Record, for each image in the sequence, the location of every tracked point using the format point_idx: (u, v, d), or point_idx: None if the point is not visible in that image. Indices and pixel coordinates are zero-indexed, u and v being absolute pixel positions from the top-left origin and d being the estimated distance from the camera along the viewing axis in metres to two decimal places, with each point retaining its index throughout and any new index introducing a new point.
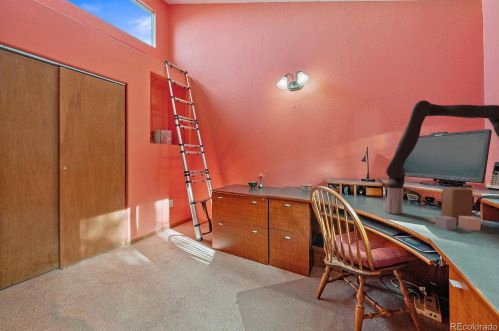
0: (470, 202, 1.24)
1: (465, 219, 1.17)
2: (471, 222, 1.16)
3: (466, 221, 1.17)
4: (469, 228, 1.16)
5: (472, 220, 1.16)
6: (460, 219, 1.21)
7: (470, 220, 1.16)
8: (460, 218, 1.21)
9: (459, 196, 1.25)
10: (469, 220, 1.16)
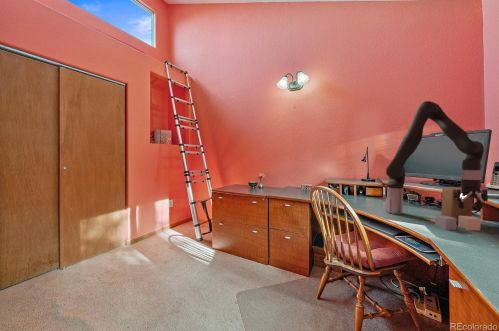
0: (470, 202, 1.24)
1: (465, 219, 1.17)
2: (471, 222, 1.16)
3: (466, 221, 1.17)
4: (469, 228, 1.16)
5: (472, 220, 1.16)
6: (460, 219, 1.21)
7: (470, 220, 1.16)
8: (460, 218, 1.21)
9: None
10: (469, 220, 1.16)
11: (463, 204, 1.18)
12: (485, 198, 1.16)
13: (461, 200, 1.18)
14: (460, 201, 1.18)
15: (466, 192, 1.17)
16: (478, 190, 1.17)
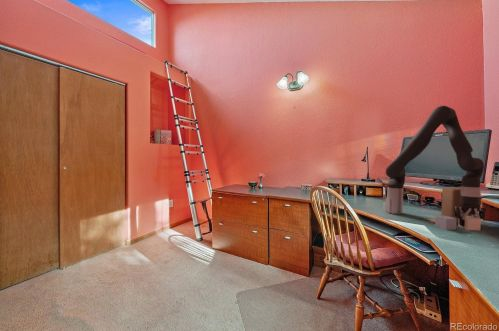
0: None
1: (465, 219, 1.17)
2: (471, 222, 1.16)
3: (466, 221, 1.17)
4: (469, 228, 1.16)
5: (472, 220, 1.16)
6: None
7: (470, 220, 1.16)
8: None
9: (459, 196, 1.25)
10: (469, 220, 1.16)
11: (464, 222, 1.18)
12: (482, 216, 1.17)
13: (462, 218, 1.18)
14: (461, 219, 1.19)
15: (465, 209, 1.18)
16: (477, 207, 1.17)
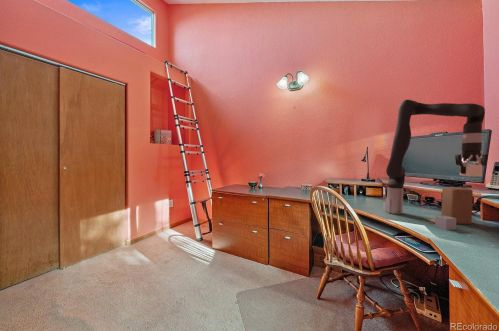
0: (470, 202, 1.24)
1: (466, 166, 1.17)
2: (473, 168, 1.15)
3: (467, 168, 1.16)
4: (470, 174, 1.15)
5: (474, 166, 1.15)
6: None
7: (472, 166, 1.15)
8: None
9: (459, 196, 1.25)
10: (471, 166, 1.15)
11: (465, 169, 1.17)
12: (483, 163, 1.16)
13: (463, 165, 1.17)
14: (462, 166, 1.18)
15: (466, 156, 1.17)
16: (479, 153, 1.16)
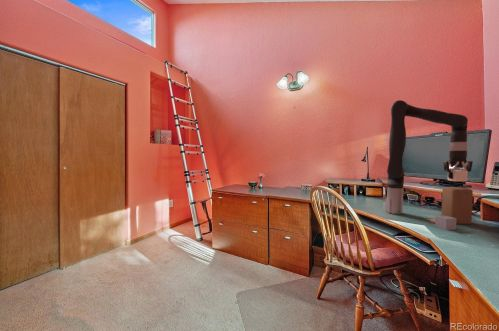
0: (470, 202, 1.24)
1: (453, 172, 1.28)
2: (459, 174, 1.26)
3: (454, 173, 1.27)
4: (457, 179, 1.27)
5: (460, 172, 1.26)
6: None
7: (458, 172, 1.26)
8: None
9: (459, 196, 1.25)
10: (457, 172, 1.27)
11: (452, 174, 1.29)
12: (469, 169, 1.27)
13: (451, 171, 1.29)
14: (450, 172, 1.29)
15: (453, 163, 1.28)
16: (464, 160, 1.27)
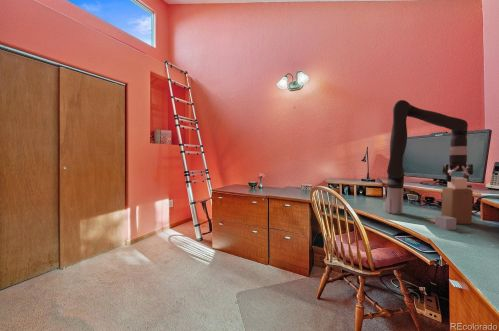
0: (470, 202, 1.24)
1: (453, 179, 1.28)
2: (459, 181, 1.27)
3: (454, 181, 1.28)
4: (457, 187, 1.27)
5: (459, 179, 1.27)
6: None
7: (458, 180, 1.27)
8: None
9: (459, 196, 1.25)
10: (457, 180, 1.27)
11: (450, 177, 1.29)
12: (471, 172, 1.27)
13: (449, 174, 1.29)
14: (448, 175, 1.29)
15: (453, 166, 1.28)
16: (464, 165, 1.28)
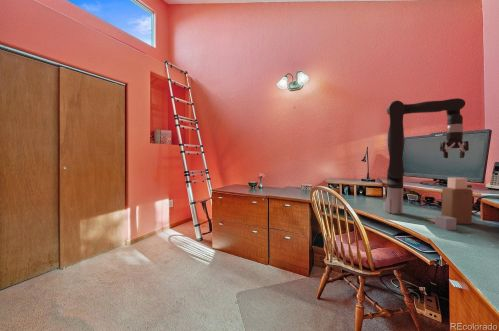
0: (470, 202, 1.24)
1: (453, 179, 1.28)
2: (459, 181, 1.27)
3: (454, 181, 1.28)
4: (457, 187, 1.27)
5: (459, 179, 1.26)
6: (449, 180, 1.31)
7: (458, 180, 1.27)
8: (449, 179, 1.31)
9: (459, 196, 1.25)
10: (457, 180, 1.27)
11: (447, 154, 1.37)
12: (466, 148, 1.35)
13: (445, 150, 1.37)
14: (445, 151, 1.38)
15: (450, 143, 1.37)
16: (460, 141, 1.36)
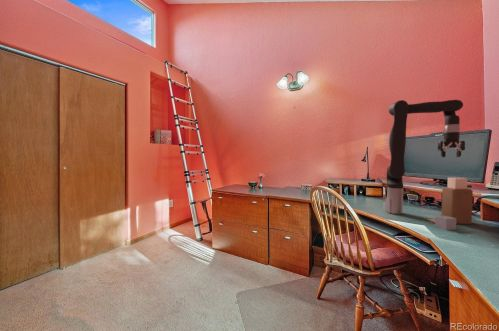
0: (470, 202, 1.24)
1: (453, 179, 1.28)
2: (459, 181, 1.27)
3: (454, 181, 1.28)
4: (457, 187, 1.27)
5: (459, 179, 1.26)
6: (449, 180, 1.31)
7: (458, 180, 1.27)
8: (449, 179, 1.31)
9: (459, 196, 1.25)
10: (457, 180, 1.27)
11: (445, 153, 1.43)
12: (463, 148, 1.41)
13: (443, 150, 1.43)
14: (442, 151, 1.44)
15: (447, 143, 1.43)
16: (457, 141, 1.42)
